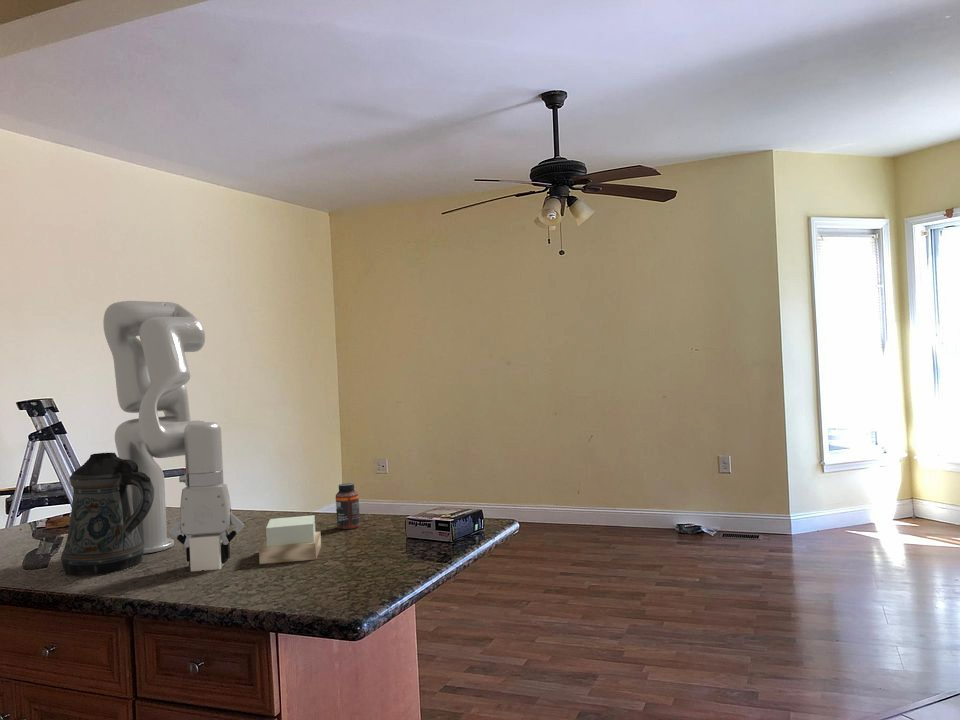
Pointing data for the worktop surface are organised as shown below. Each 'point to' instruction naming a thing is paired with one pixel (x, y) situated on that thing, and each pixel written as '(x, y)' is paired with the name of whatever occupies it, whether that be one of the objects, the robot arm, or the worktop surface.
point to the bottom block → (290, 551)
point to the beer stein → (105, 516)
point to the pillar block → (205, 552)
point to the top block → (290, 530)
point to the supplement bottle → (347, 507)
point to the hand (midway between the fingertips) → (208, 562)
